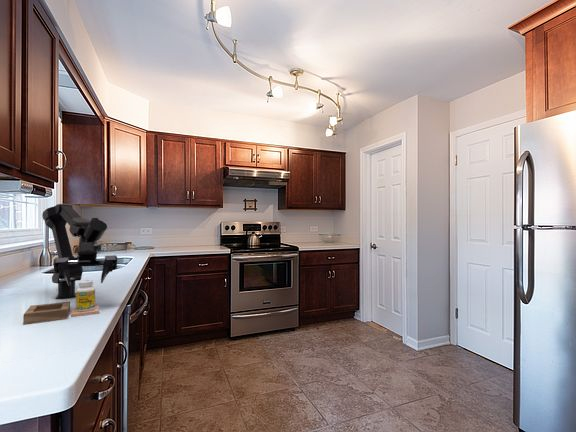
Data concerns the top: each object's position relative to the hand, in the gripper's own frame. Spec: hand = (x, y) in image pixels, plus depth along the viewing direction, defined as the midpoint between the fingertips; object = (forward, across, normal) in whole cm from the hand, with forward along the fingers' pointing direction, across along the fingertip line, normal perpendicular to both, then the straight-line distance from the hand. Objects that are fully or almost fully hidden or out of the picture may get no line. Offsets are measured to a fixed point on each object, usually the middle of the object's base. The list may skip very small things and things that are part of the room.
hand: (85, 283), depth 104 cm
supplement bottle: (+6, 0, +6) cm, 9 cm away
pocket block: (+7, -10, +6) cm, 14 cm away
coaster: (+7, 0, +6) cm, 10 cm away
